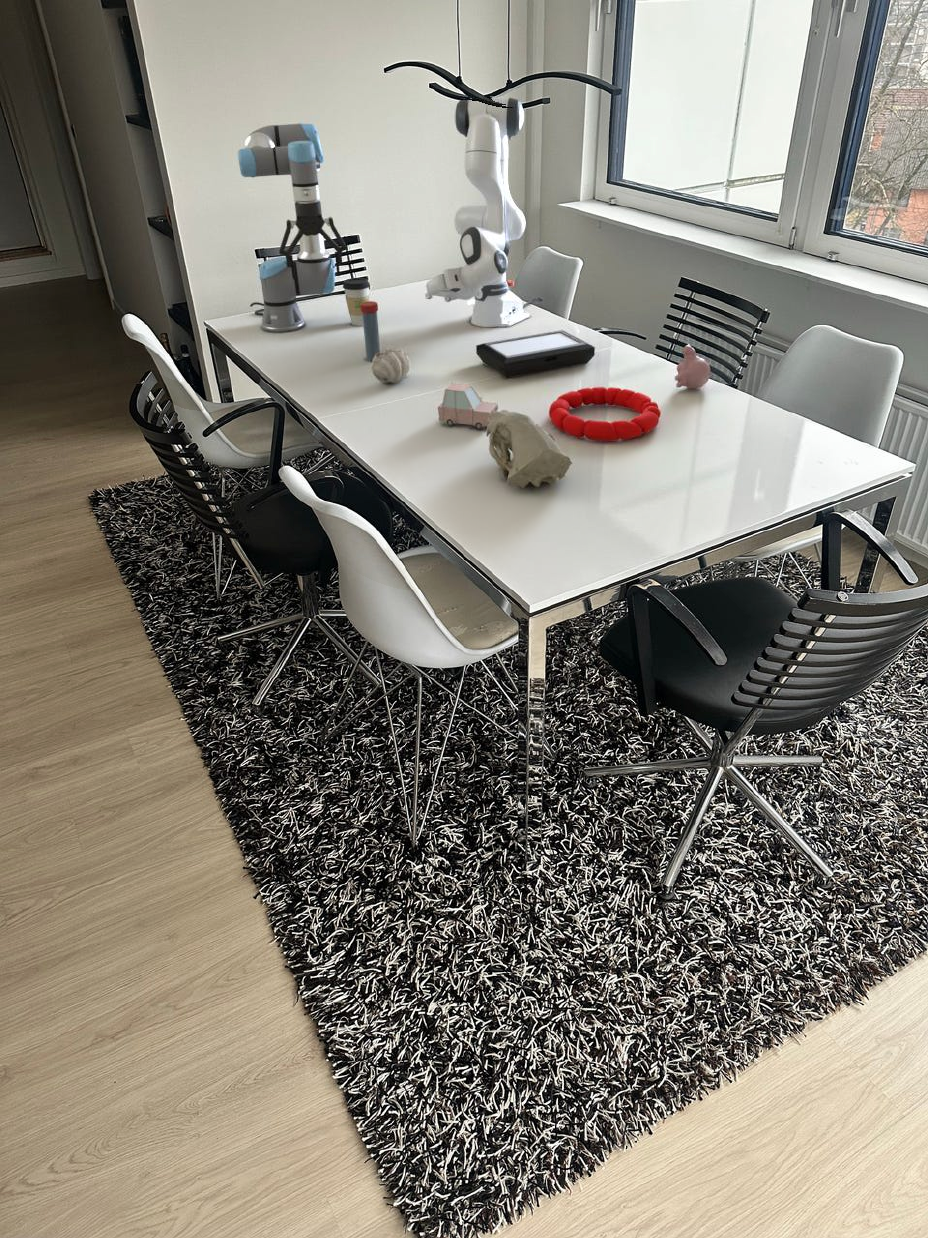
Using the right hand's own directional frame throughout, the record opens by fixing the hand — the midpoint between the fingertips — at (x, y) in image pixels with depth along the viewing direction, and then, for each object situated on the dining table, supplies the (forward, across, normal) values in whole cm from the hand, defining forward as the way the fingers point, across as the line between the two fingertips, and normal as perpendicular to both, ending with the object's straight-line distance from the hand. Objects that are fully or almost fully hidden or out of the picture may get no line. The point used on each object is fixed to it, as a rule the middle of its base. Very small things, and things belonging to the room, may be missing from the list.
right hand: (436, 298), depth 301 cm
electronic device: (-30, -5, +33) cm, 45 cm away
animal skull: (-61, +56, +74) cm, 111 cm away
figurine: (-74, -16, +56) cm, 94 cm away
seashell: (-4, +34, +31) cm, 46 cm away
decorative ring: (-65, +19, +63) cm, 92 cm away
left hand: (+7, +45, -5) cm, 46 cm away
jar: (+13, +23, +17) cm, 32 cm away
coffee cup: (+38, 0, -6) cm, 39 cm away
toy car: (-37, +43, +55) cm, 78 cm away
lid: (+4, +28, +3) cm, 29 cm away
